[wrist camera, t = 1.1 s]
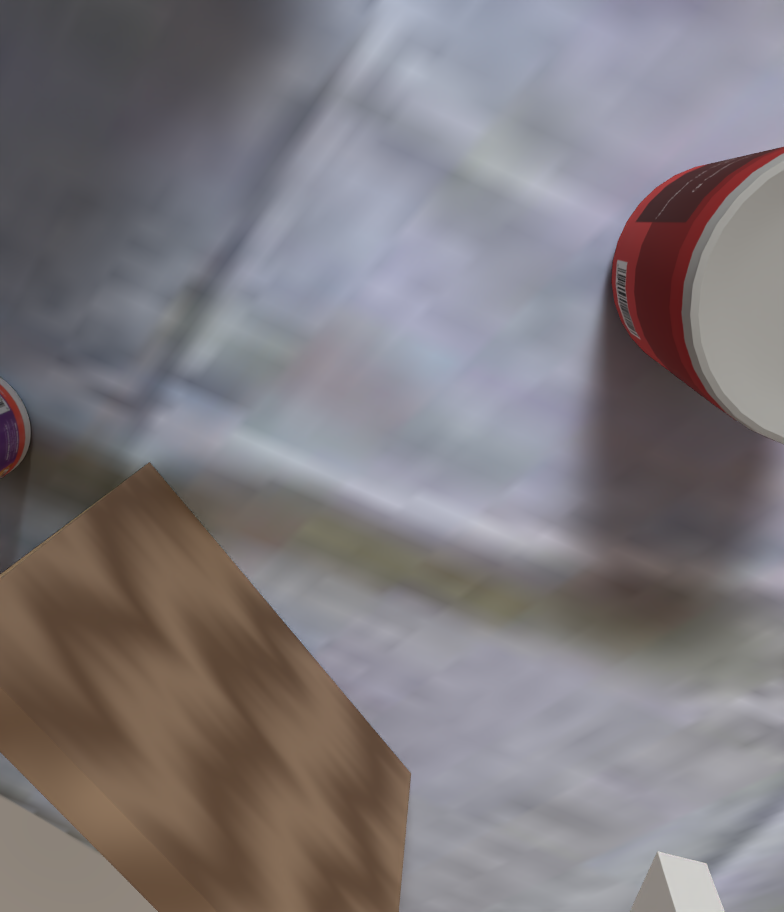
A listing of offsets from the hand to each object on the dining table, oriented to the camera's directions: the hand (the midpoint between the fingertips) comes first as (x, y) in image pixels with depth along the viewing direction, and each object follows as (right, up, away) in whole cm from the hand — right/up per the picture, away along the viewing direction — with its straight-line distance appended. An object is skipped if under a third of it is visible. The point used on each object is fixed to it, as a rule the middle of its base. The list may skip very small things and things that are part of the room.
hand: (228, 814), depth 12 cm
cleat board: (-7, -6, +25) cm, 26 cm away
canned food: (+15, +13, +17) cm, 26 cm away
